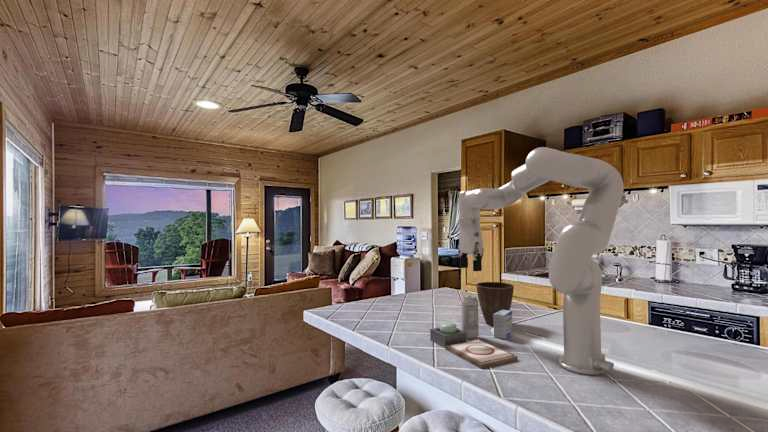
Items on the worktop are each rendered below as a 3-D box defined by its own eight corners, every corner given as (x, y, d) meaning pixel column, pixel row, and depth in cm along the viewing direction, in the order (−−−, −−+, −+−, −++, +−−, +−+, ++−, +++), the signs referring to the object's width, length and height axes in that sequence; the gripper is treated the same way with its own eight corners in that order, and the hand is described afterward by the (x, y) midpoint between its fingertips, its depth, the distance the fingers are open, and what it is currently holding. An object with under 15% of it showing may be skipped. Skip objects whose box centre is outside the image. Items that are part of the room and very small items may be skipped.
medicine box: (505, 339, 131) (505, 315, 131) (493, 337, 133) (493, 313, 133) (512, 333, 137) (512, 310, 137) (501, 331, 140) (500, 309, 140)
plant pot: (485, 317, 161) (485, 280, 161) (520, 322, 151) (519, 283, 151) (470, 324, 149) (469, 285, 149) (506, 331, 140) (505, 289, 140)
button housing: (466, 343, 127) (466, 332, 127) (444, 347, 123) (444, 336, 123) (451, 336, 135) (451, 325, 135) (430, 340, 131) (430, 328, 131)
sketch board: (517, 360, 111) (517, 355, 111) (481, 368, 106) (481, 363, 106) (478, 342, 128) (478, 338, 128) (445, 349, 122) (445, 344, 122)
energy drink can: (476, 334, 137) (475, 294, 137) (480, 339, 131) (480, 297, 131) (460, 334, 137) (459, 294, 137) (464, 340, 130) (463, 298, 131)
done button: (459, 334, 128) (459, 325, 128) (445, 336, 125) (445, 328, 125) (450, 330, 133) (449, 321, 133) (436, 332, 130) (436, 323, 130)
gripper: (491, 223, 129) (492, 271, 129) (467, 223, 146) (467, 266, 146) (472, 223, 127) (473, 273, 127) (450, 223, 144) (450, 267, 144)
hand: (470, 269), depth 137 cm, fingers open, 9 cm apart
